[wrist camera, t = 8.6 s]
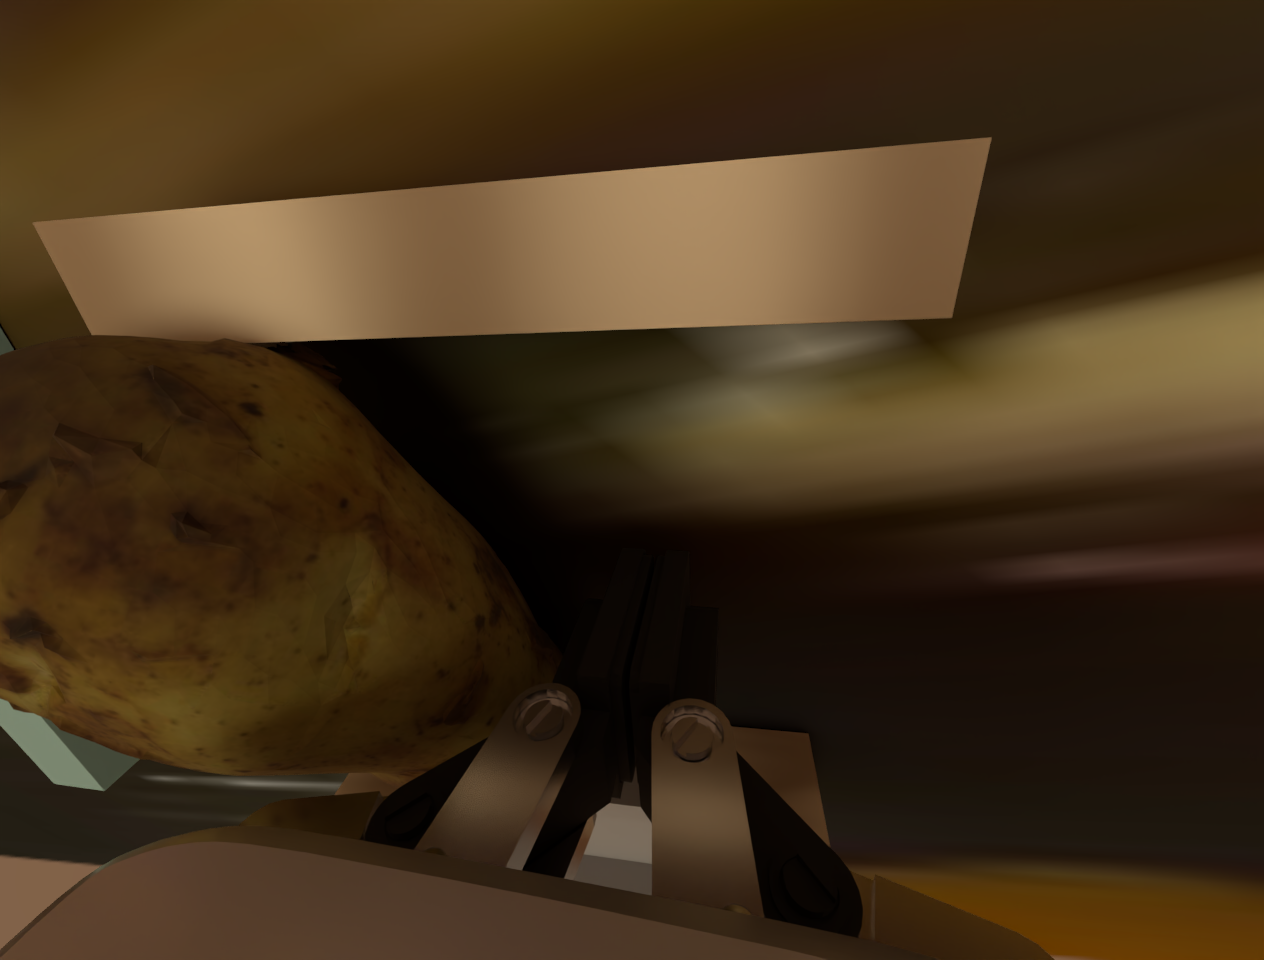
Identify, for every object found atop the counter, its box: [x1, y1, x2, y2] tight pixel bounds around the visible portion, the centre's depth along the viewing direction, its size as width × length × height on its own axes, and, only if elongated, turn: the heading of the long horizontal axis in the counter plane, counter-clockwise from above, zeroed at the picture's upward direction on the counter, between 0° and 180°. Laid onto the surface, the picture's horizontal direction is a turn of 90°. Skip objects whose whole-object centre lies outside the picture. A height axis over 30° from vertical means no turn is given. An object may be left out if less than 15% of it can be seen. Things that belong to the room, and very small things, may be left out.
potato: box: [0, 335, 563, 788], centre depth 10 cm, size 8×13×8 cm, turn 5°
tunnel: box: [32, 137, 992, 847], centre depth 12 cm, size 14×17×4 cm
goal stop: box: [0, 327, 139, 791], centre depth 14 cm, size 2×14×4 cm, turn 3°
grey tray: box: [574, 768, 652, 896], centre depth 18 cm, size 9×6×2 cm
